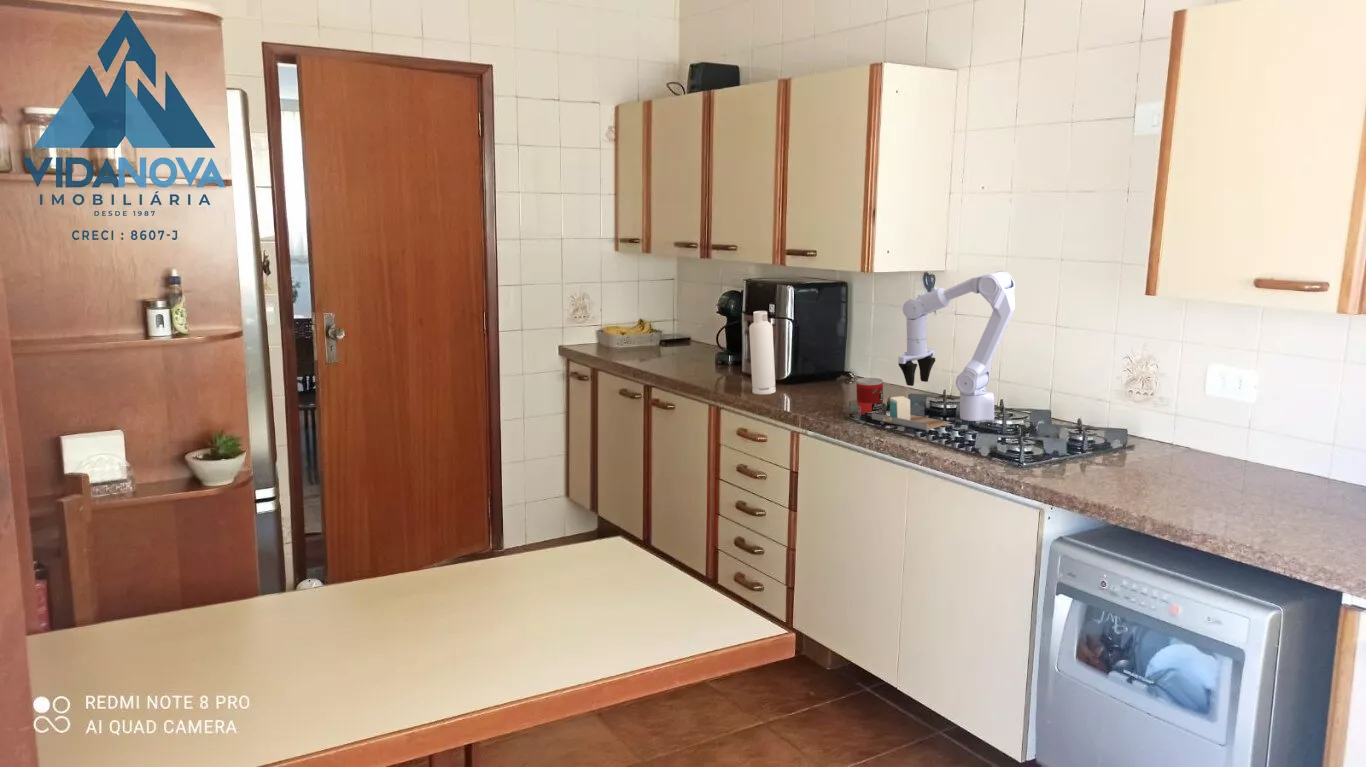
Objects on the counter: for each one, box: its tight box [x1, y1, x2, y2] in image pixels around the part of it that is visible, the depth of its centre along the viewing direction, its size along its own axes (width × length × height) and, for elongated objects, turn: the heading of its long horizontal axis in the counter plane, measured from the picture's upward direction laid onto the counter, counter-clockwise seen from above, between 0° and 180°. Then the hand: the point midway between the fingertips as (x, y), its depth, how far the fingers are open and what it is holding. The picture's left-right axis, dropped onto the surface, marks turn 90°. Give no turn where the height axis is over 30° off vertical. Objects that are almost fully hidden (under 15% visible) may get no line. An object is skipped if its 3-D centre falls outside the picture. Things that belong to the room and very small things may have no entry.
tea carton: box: [889, 395, 911, 420], centre depth 275 cm, size 5×4×6 cm
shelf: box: [871, 413, 952, 432], centre depth 273 cm, size 20×11×3 cm, turn 37°
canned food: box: [855, 377, 884, 415], centre depth 286 cm, size 8×8×11 cm
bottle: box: [748, 310, 776, 395], centre depth 325 cm, size 8×8×28 cm
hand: (917, 383), depth 281 cm, fingers open, 6 cm apart
